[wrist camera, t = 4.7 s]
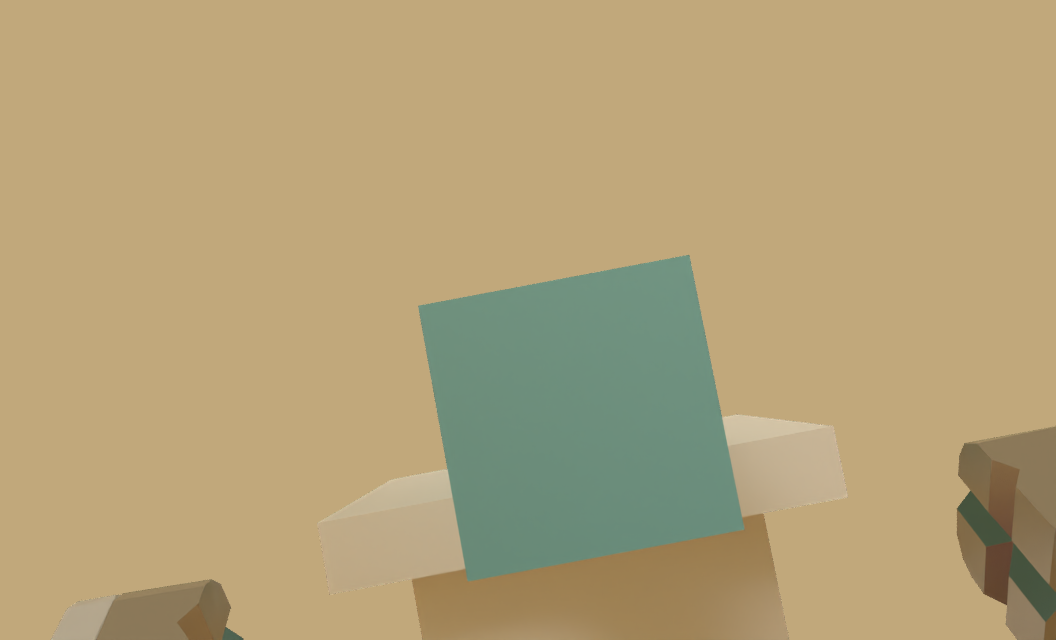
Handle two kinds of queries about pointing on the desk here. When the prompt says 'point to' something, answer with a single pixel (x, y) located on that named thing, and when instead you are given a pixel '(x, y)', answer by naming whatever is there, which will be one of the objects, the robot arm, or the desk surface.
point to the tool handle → (580, 418)
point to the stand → (598, 583)
